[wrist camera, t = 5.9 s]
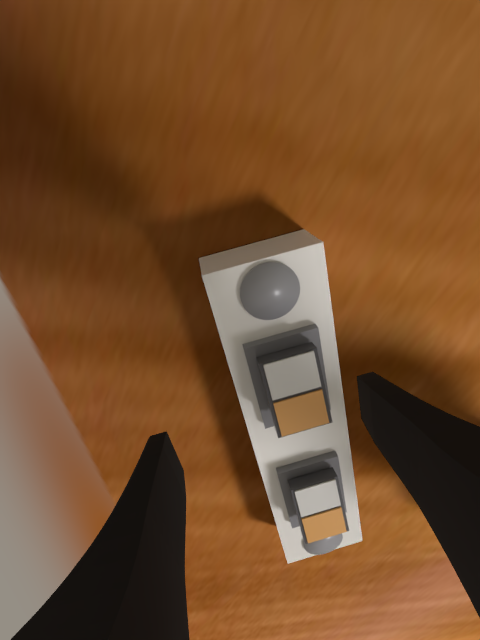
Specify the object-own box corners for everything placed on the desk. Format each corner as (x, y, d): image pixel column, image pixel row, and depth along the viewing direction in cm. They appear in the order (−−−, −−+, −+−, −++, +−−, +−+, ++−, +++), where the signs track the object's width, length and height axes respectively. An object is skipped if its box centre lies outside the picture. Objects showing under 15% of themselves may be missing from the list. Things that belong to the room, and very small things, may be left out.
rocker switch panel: (346, 506, 31) (365, 547, 28) (278, 527, 31) (289, 570, 28) (304, 229, 20) (326, 244, 17) (198, 258, 20) (202, 279, 17)
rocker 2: (344, 519, 25) (349, 532, 24) (301, 532, 25) (305, 545, 24) (332, 467, 23) (338, 477, 22) (287, 480, 23) (291, 491, 22)
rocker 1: (326, 413, 20) (333, 423, 19) (274, 428, 20) (278, 439, 19) (311, 341, 19) (317, 348, 18) (256, 357, 19) (259, 365, 18)
